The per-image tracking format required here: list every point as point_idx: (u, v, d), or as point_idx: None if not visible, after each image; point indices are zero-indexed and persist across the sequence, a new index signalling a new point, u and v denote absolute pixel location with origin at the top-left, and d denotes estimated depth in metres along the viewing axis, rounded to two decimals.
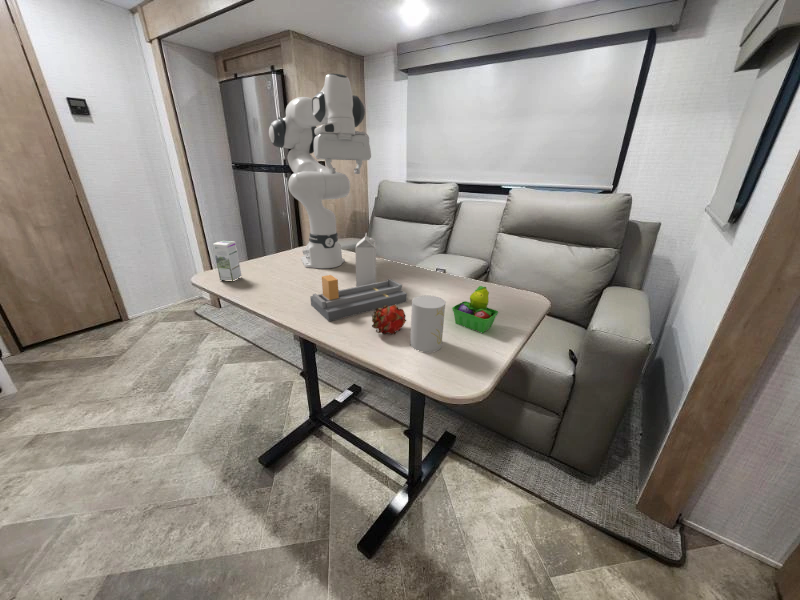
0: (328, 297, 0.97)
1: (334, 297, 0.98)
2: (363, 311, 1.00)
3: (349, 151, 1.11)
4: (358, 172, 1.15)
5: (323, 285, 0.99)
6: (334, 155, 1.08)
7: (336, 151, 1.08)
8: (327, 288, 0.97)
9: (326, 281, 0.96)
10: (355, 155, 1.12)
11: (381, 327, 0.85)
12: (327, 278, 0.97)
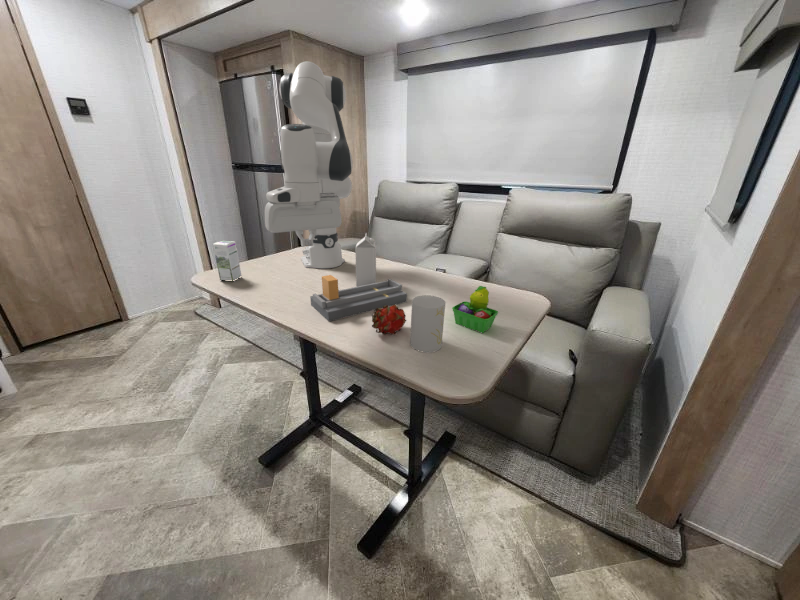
0: (328, 297, 0.97)
1: (334, 297, 0.98)
2: (363, 311, 1.00)
3: (313, 221, 0.87)
4: (311, 244, 0.90)
5: (323, 285, 0.99)
6: (291, 228, 0.84)
7: (294, 223, 0.84)
8: (327, 288, 0.97)
9: (326, 281, 0.96)
10: (321, 224, 0.88)
11: (381, 327, 0.85)
12: (327, 278, 0.97)
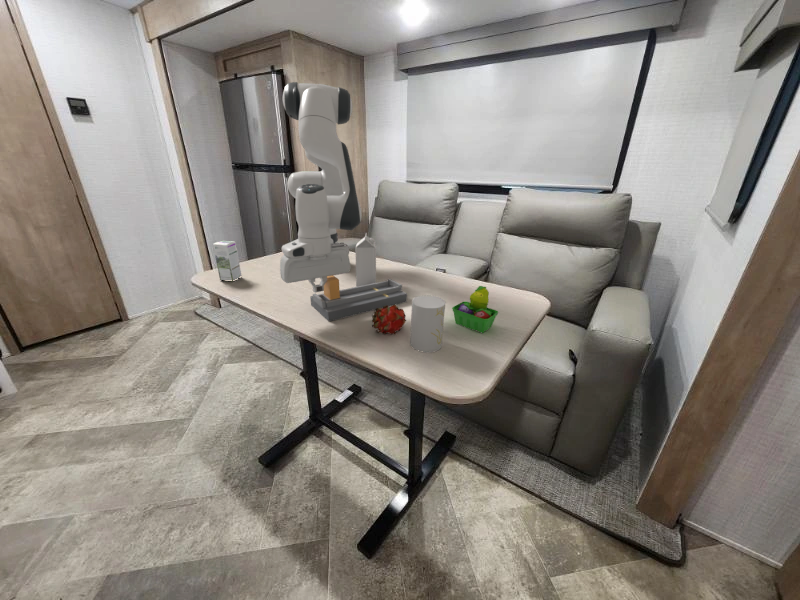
0: (329, 297, 0.97)
1: (335, 297, 0.98)
2: (363, 311, 1.00)
3: (324, 269, 0.94)
4: (322, 290, 0.96)
5: (324, 285, 0.99)
6: (305, 277, 0.91)
7: (307, 273, 0.91)
8: (328, 288, 0.97)
9: (327, 281, 0.96)
10: (331, 272, 0.95)
11: (381, 327, 0.85)
12: (328, 278, 0.97)
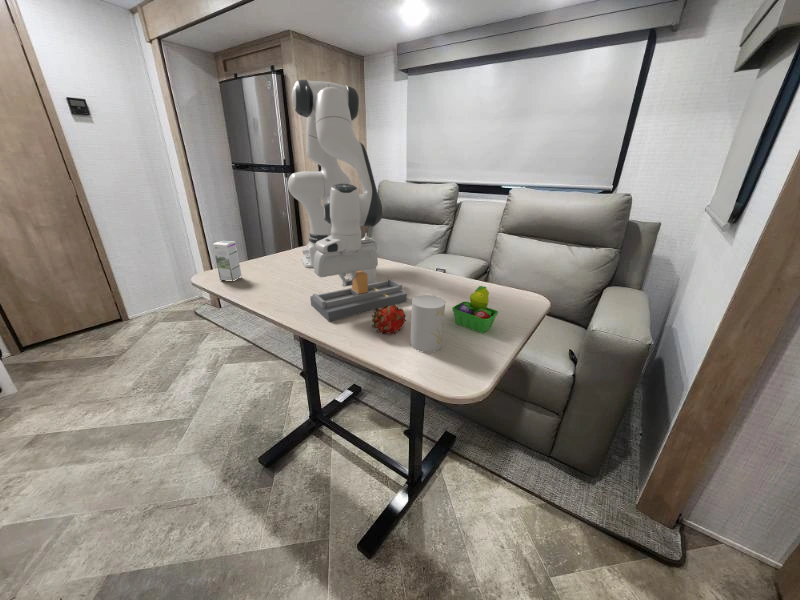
0: (358, 291, 1.03)
1: (363, 291, 1.03)
2: (363, 311, 1.00)
3: (354, 264, 0.99)
4: (351, 284, 1.02)
5: None
6: (336, 272, 0.96)
7: (339, 268, 0.96)
8: (357, 282, 1.02)
9: (356, 275, 1.01)
10: (360, 267, 1.00)
11: (381, 327, 0.85)
12: (357, 273, 1.02)
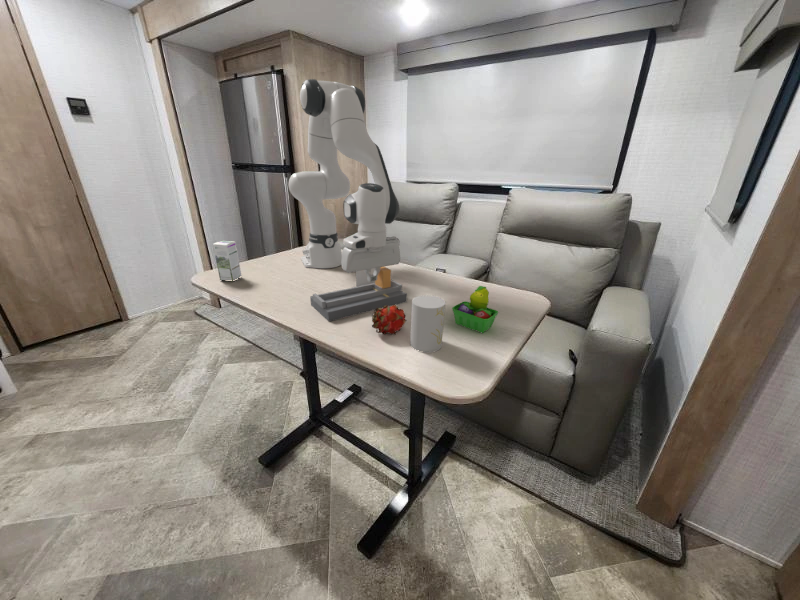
0: (382, 286, 1.07)
1: (387, 286, 1.08)
2: (363, 311, 1.00)
3: (379, 260, 1.04)
4: (375, 279, 1.06)
5: None
6: (363, 268, 1.01)
7: (365, 264, 1.01)
8: (381, 278, 1.07)
9: (380, 271, 1.06)
10: (384, 263, 1.05)
11: (381, 327, 0.85)
12: (381, 268, 1.07)
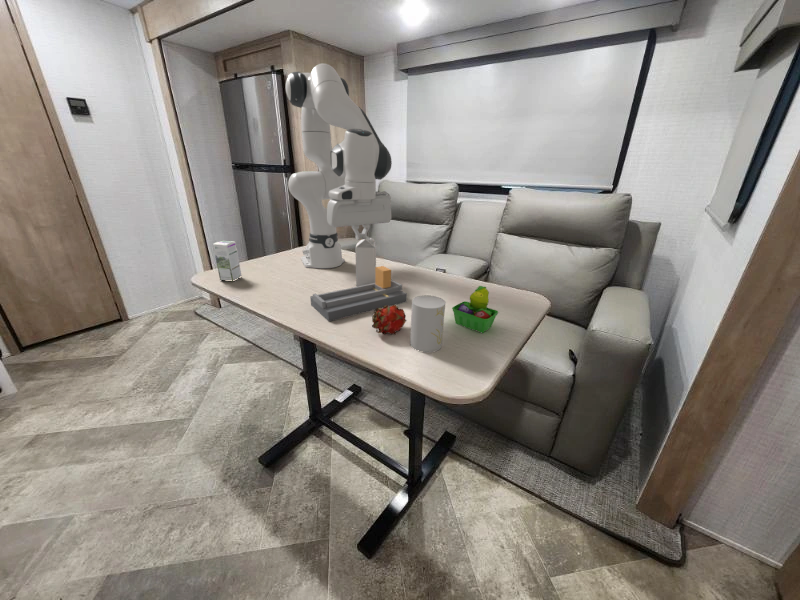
0: (382, 286, 1.07)
1: (387, 286, 1.08)
2: (363, 311, 1.00)
3: (368, 216, 0.96)
4: (364, 238, 0.99)
5: (376, 275, 1.09)
6: (350, 223, 0.93)
7: (353, 218, 0.93)
8: (381, 278, 1.07)
9: (381, 271, 1.06)
10: (374, 220, 0.98)
11: (381, 327, 0.85)
12: (381, 268, 1.07)
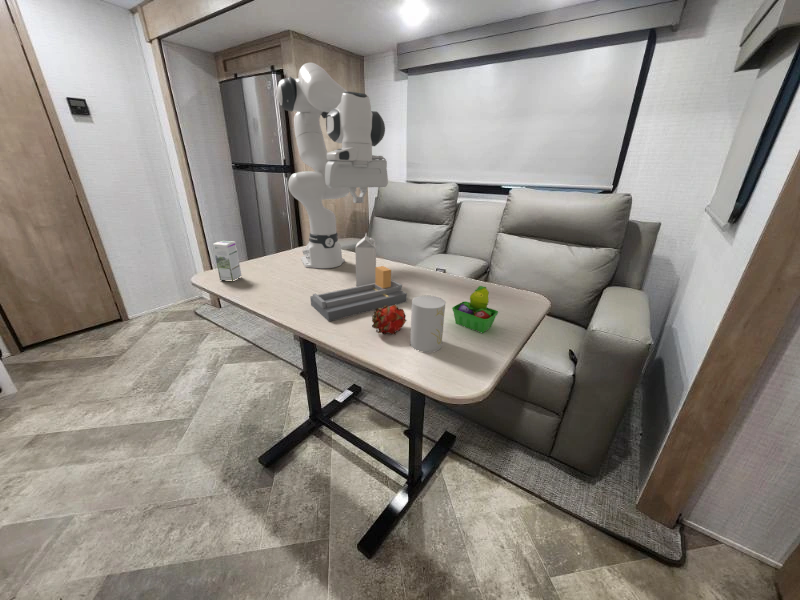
0: (382, 286, 1.07)
1: (387, 286, 1.08)
2: (363, 311, 1.00)
3: (365, 179, 0.99)
4: (361, 201, 1.02)
5: (376, 275, 1.09)
6: (347, 184, 0.96)
7: (350, 180, 0.96)
8: (381, 278, 1.07)
9: (381, 271, 1.06)
10: (371, 183, 1.00)
11: (381, 327, 0.85)
12: (381, 268, 1.07)
